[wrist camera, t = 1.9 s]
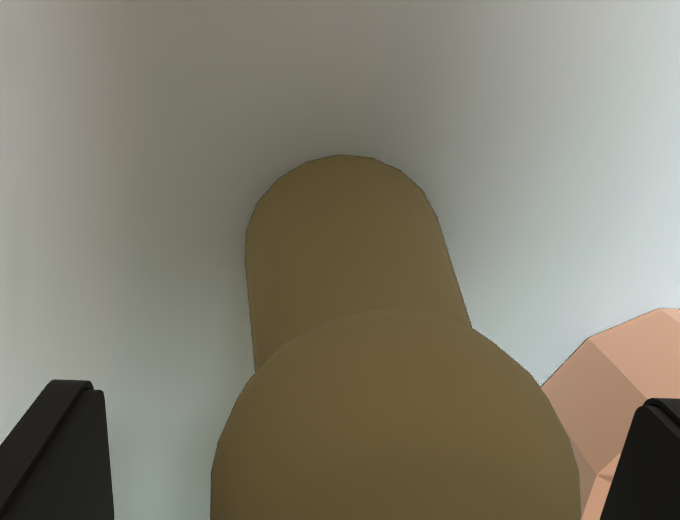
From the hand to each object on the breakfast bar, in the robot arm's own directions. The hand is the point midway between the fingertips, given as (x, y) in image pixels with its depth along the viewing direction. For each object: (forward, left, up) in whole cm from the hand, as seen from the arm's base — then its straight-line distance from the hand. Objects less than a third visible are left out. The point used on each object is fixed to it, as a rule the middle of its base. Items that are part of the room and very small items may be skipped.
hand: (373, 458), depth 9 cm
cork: (-1, 0, -8) cm, 8 cm away
